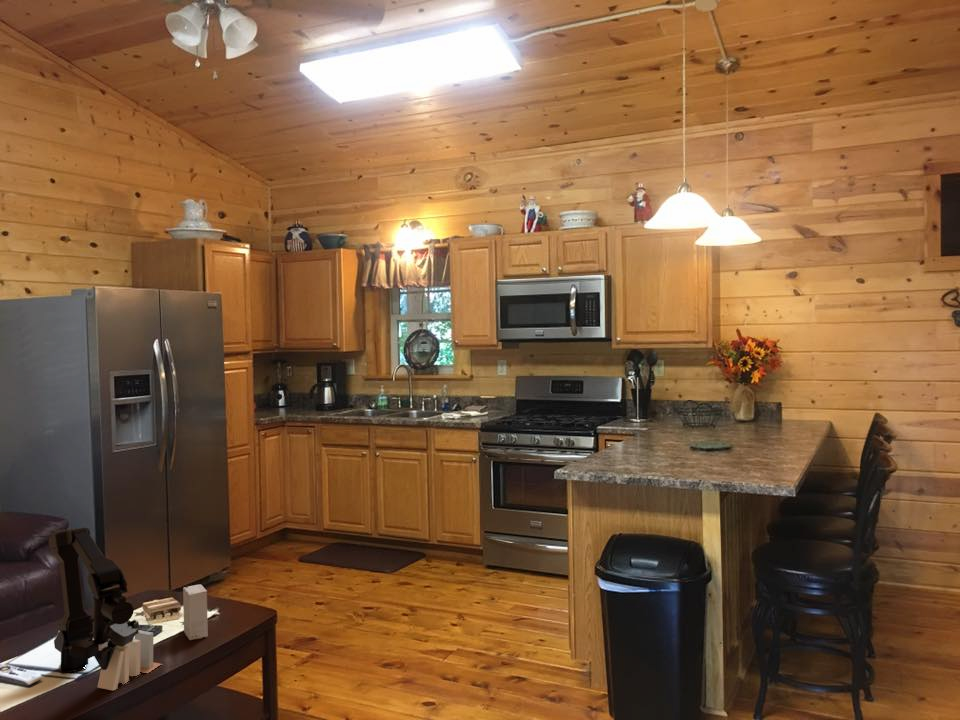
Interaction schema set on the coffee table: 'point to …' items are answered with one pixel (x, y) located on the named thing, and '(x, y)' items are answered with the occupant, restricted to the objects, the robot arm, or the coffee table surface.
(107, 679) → the domino
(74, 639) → the robot arm
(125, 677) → the domino
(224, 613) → the coffee table surface
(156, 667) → the tile
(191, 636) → the skincare box
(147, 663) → the domino
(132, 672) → the domino
